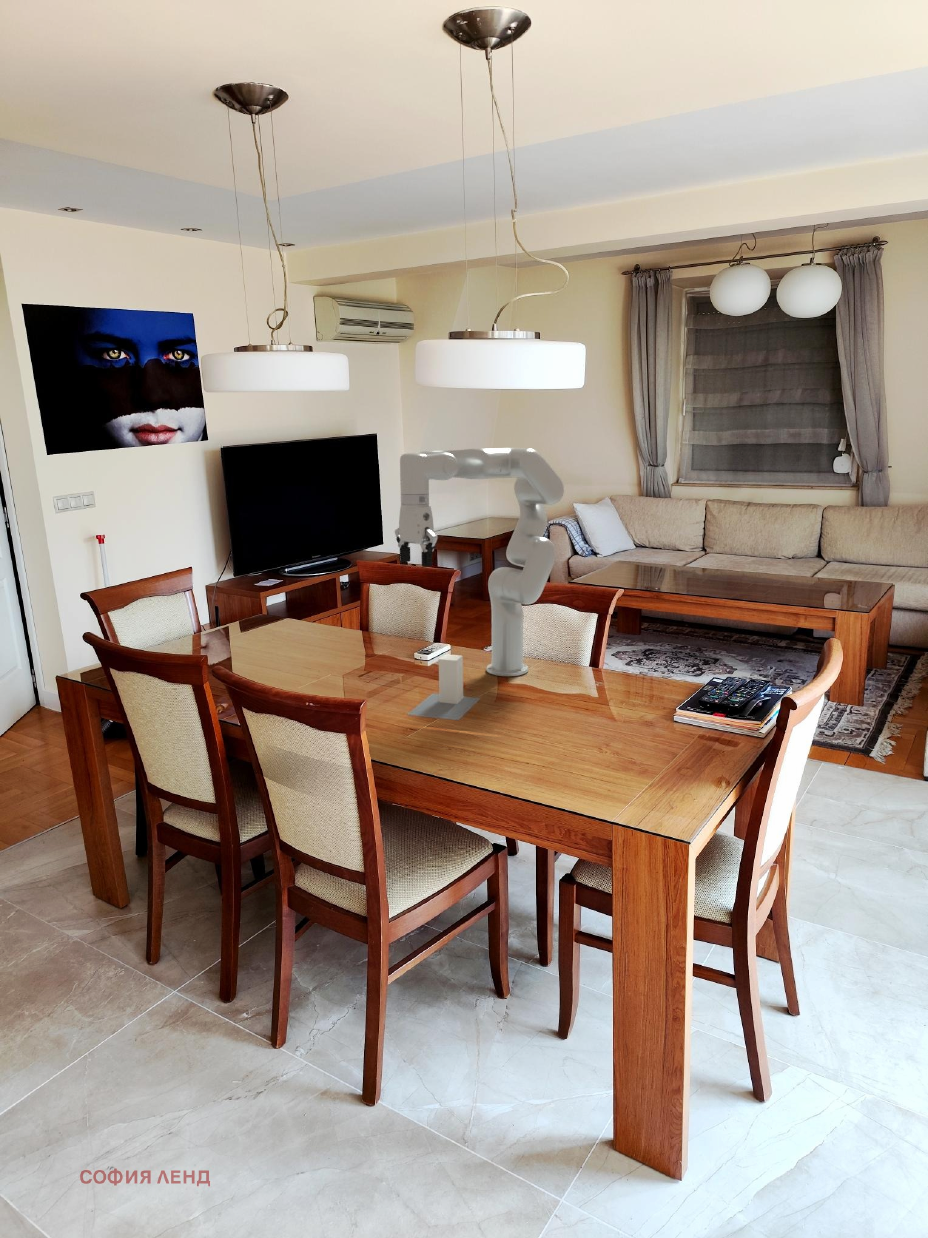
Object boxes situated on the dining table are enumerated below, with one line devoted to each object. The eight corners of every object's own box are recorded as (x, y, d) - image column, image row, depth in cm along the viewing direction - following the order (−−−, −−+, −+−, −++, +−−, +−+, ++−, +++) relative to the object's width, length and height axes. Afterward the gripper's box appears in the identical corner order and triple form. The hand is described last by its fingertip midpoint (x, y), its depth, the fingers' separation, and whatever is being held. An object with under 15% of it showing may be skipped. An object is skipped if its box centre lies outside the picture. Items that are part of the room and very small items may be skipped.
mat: (432, 695, 234) (432, 693, 234) (480, 700, 230) (480, 698, 229) (407, 716, 218) (407, 714, 217) (458, 722, 213) (458, 720, 213)
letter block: (446, 696, 231) (445, 654, 228) (463, 698, 230) (462, 655, 227) (439, 702, 226) (438, 659, 224) (457, 704, 225) (456, 660, 222)
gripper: (446, 501, 221) (447, 566, 225) (406, 497, 234) (407, 558, 238) (423, 503, 216) (424, 569, 220) (384, 499, 229) (386, 561, 233)
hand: (416, 564), depth 229 cm, fingers open, 9 cm apart
